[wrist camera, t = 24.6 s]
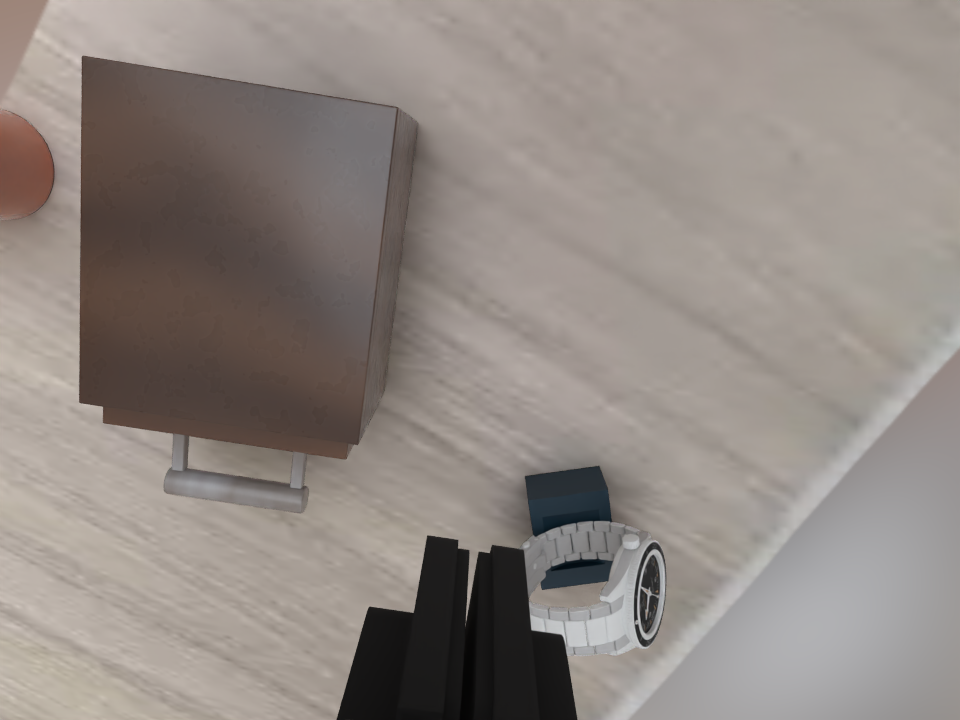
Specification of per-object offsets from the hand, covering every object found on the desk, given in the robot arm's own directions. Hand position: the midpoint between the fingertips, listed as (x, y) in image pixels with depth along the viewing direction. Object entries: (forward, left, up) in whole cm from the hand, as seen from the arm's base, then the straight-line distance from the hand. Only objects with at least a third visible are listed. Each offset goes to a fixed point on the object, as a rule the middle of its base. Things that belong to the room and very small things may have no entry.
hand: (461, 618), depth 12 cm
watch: (+11, +7, -27) cm, 30 cm away
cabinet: (-2, -11, -27) cm, 29 cm away
